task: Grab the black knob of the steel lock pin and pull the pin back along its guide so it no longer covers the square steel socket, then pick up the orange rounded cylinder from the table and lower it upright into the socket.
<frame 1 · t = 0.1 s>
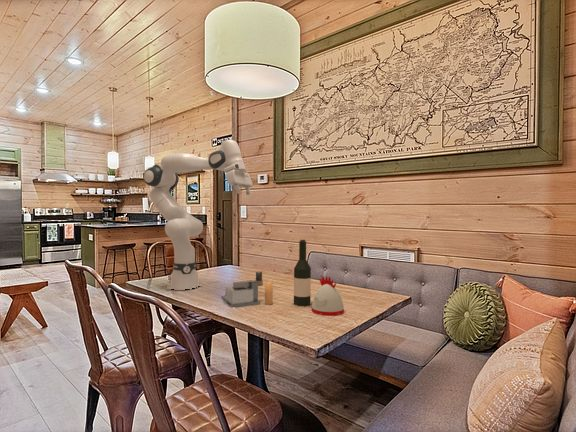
hand: (244, 194, 177), 52 cm above the table, tool tilted 20°, fingers open, 8 cm apart
wine bottle: (302, 304, 161), on the table
mount: (239, 303, 161), on the table
kitchen timer: (327, 311, 149), on the table
orange rounded cylinder: (268, 303, 160), on the table
pin: (248, 279, 163), point 11 cm above the table, slide at 0.0 cm
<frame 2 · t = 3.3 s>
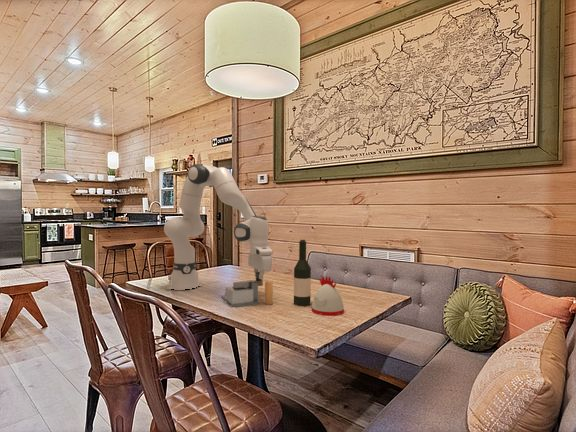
hand: (258, 278, 165), 11 cm above the table, tool pointing down, fingers closed on pin, 3 cm apart
pin: (248, 279, 163), point 11 cm above the table, slide at 0.0 cm, touching gripper
everything else where it was.
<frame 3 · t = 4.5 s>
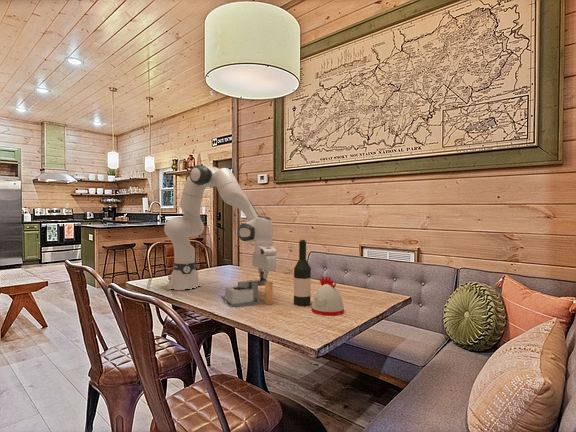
hand: (263, 277, 166), 11 cm above the table, tool pointing down, fingers closed on pin, 3 cm apart
pin: (252, 279, 164), point 11 cm above the table, slide at 2.2 cm, touching gripper
everything else where it was.
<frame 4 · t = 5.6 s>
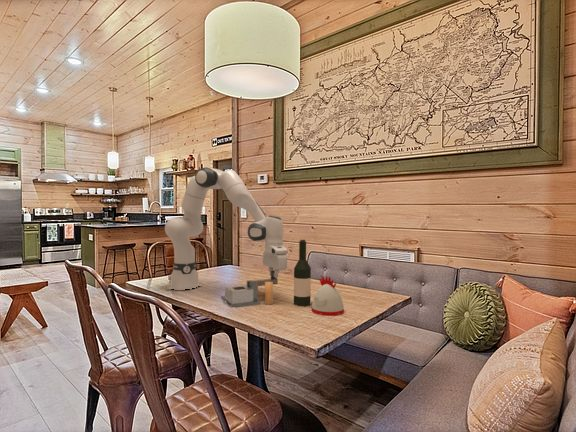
hand: (273, 276, 169), 11 cm above the table, tool pointing down, fingers closed on pin, 3 cm apart
pin: (263, 278, 166), point 11 cm above the table, slide at 8.0 cm, touching gripper
everything else where it was.
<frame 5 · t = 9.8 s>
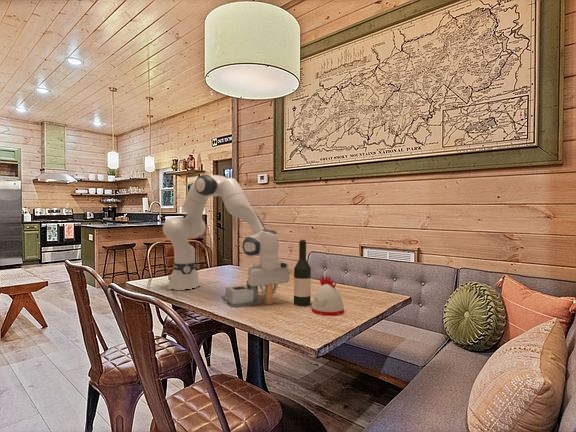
hand: (268, 293, 160), 5 cm above the table, tool pointing down, fingers closed on orange rounded cylinder, 4 cm apart
orange rounded cylinder: (268, 303, 160), on the table, touching gripper
pin: (263, 278, 166), point 11 cm above the table, slide at 8.0 cm
everything else where it was.
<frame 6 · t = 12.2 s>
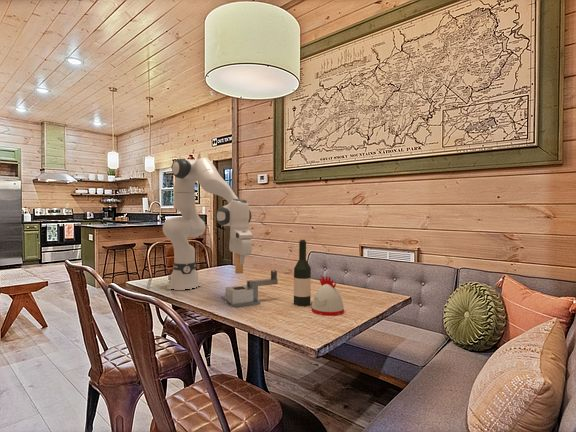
hand: (239, 263, 160), 19 cm above the table, tool pointing down, fingers closed on orange rounded cylinder, 4 cm apart
orange rounded cylinder: (239, 273, 160), point 14 cm above the table, touching gripper
everything else where it was.
when the fingers open (9 cm above the table, at t = 14.7 s): orange rounded cylinder drops 3 cm, resting on mount.
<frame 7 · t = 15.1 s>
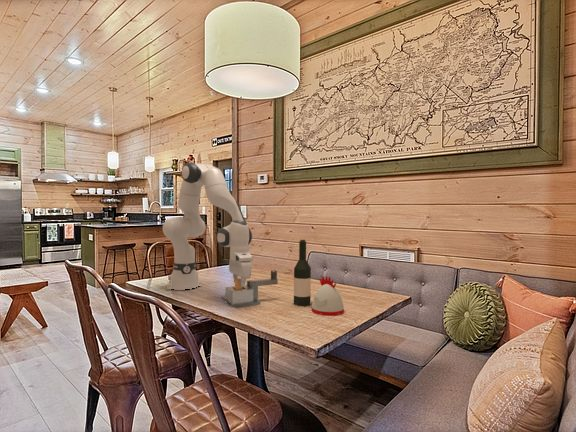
hand: (239, 284, 160), 9 cm above the table, tool pointing down, fingers open, 7 cm apart
orange rounded cylinder: (238, 300, 161), point 1 cm above the table, touching mount
everything else where it was.
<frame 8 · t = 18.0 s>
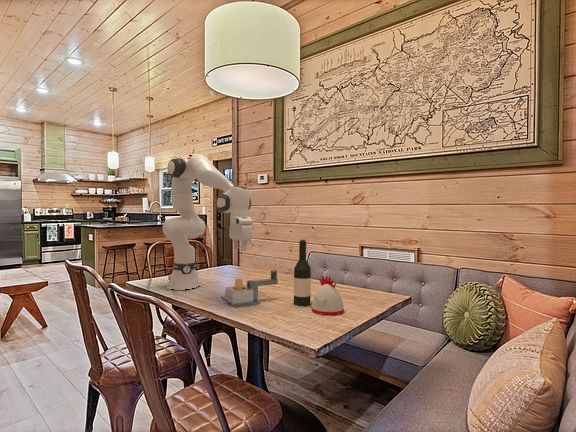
hand: (239, 249, 160), 25 cm above the table, tool pointing down, fingers open, 8 cm apart
nothing on the table moved.
at the end: pin slide at 8.0 cm; orange rounded cylinder 0.1 cm off-centre on the mount, point 1.2 cm above the mount's base; orange rounded cylinder tilted 1° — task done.
